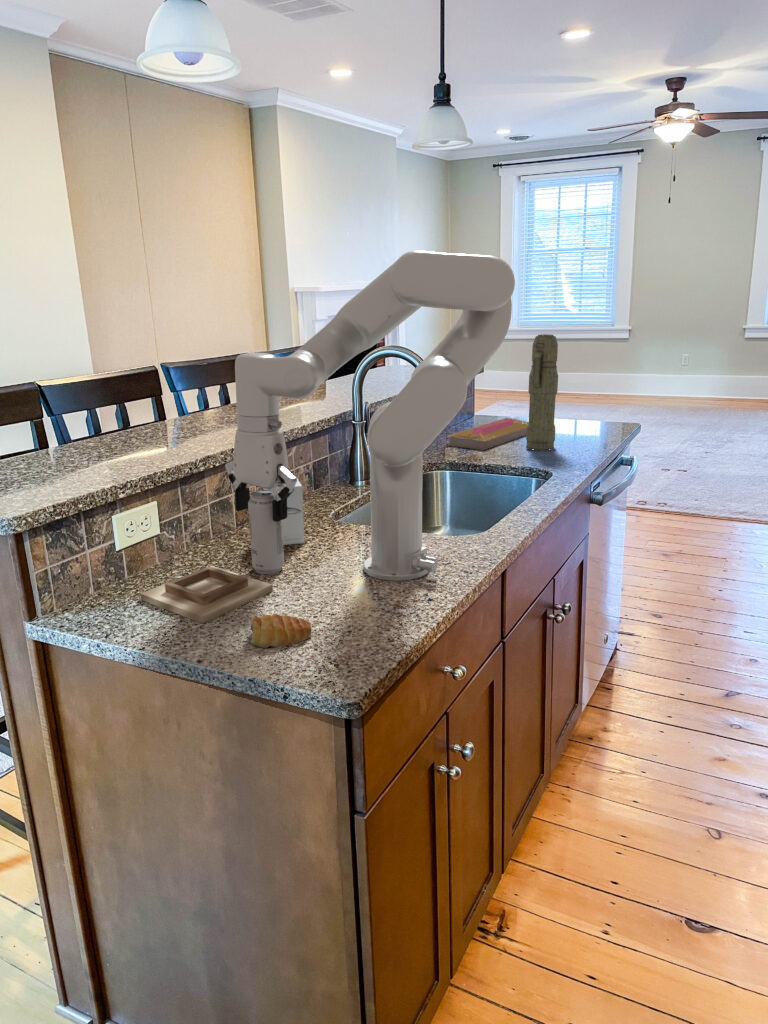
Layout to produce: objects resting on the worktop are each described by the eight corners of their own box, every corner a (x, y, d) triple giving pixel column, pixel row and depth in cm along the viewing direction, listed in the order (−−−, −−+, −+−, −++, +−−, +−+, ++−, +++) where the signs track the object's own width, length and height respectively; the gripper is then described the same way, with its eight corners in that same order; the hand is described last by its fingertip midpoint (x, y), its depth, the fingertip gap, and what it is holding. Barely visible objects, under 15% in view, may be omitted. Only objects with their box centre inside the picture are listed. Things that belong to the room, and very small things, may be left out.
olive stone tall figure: (520, 450, 238) (525, 336, 227) (531, 443, 248) (536, 333, 238) (548, 453, 234) (555, 336, 224) (558, 445, 244) (564, 333, 234)
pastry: (308, 626, 122) (307, 604, 121) (314, 645, 115) (313, 622, 114) (249, 632, 120) (247, 610, 119) (252, 652, 113) (250, 629, 112)
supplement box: (269, 547, 156) (266, 488, 152) (265, 536, 163) (262, 479, 159) (305, 544, 158) (302, 485, 154) (299, 533, 165) (297, 476, 161)
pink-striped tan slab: (500, 429, 273) (500, 412, 271) (536, 434, 264) (537, 416, 262) (445, 446, 246) (446, 428, 245) (484, 452, 238) (485, 433, 236)
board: (272, 590, 135) (271, 576, 134) (202, 623, 123) (201, 608, 122) (212, 571, 144) (210, 558, 143) (141, 599, 132) (139, 585, 131)
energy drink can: (254, 564, 147) (249, 489, 143) (285, 563, 148) (281, 488, 143) (251, 575, 142) (245, 498, 137) (283, 574, 142) (279, 497, 138)
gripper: (308, 426, 134) (309, 519, 139) (240, 414, 144) (243, 501, 149) (278, 433, 129) (280, 529, 134) (209, 420, 138) (214, 510, 143)
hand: (261, 514), depth 141 cm, fingers open, 9 cm apart
